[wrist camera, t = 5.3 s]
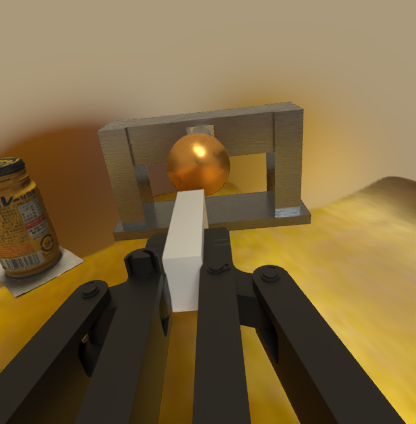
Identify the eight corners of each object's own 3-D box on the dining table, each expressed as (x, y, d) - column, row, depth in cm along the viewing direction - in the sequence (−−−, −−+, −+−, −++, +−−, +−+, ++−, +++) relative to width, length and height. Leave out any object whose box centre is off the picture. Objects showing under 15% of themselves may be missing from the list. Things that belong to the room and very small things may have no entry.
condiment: (52, 241, 40) (17, 150, 34) (84, 262, 35) (49, 159, 29) (-10, 270, 35) (-62, 171, 30) (16, 299, 30) (-41, 186, 25)
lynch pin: (224, 149, 39) (221, 107, 37) (232, 193, 26) (227, 132, 24) (184, 153, 39) (178, 111, 37) (172, 199, 26) (161, 139, 24)
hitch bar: (293, 196, 44) (296, 99, 38) (310, 223, 37) (316, 109, 31) (130, 211, 45) (107, 120, 39) (115, 240, 38) (85, 134, 32)
